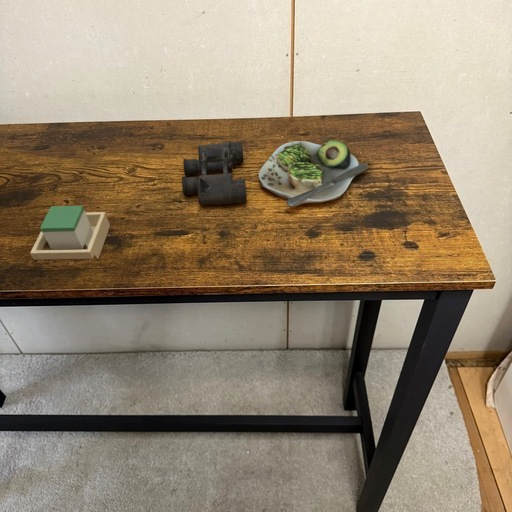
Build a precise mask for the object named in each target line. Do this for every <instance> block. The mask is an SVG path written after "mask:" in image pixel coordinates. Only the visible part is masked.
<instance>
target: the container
mask: <svg viewBox="0 0 512 512" xmlns="http://www.w3.org/2000/svg"><path fill="white" fill-rule="evenodd" d="M85 212H86V211H85V207H84V205H51V206H50V208H49V210H48V212H47V213H46V215H45V217H44V219H43V221H42V223H41V225H40V227H39V230H40V232H41V231H42V232H43V234H44V236H45V238H46V240H47V241H46V243H47V244H48V247H49V248H50V250H82V249H84V247H85V246H86V247H87V248H88V244H89V242H90V239H91V236H92V234H93V230H92V228H91V225H90V223H89V220H88V218H87V216H86V213H85Z"/></svg>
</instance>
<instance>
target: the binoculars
mask: <svg viewBox="0 0 512 512" xmlns="http://www.w3.org/2000/svg"><path fill="white" fill-rule="evenodd" d="M197 155H198V158H185V157H184V158H183V160H182V162H183V173H184V176H183V175H182V177H181V188H182V193H183V196H186V195H193V194H197V199H198V204H199V206H203V205H204V206H205V205H232V204H237V203H238V204H239V203H247V202H248V198H247V185H246V178H235V179H234V175H233V172H234V170H233V169H234V166H233V165H237V164H242V163H244V162H245V161H244V148H243V141H224V142H220V143H214V144H201V145H197ZM229 172H230V173H229ZM216 173H217V174H216ZM199 174H201V175H199Z"/></svg>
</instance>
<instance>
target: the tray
mask: <svg viewBox="0 0 512 512" xmlns="http://www.w3.org/2000/svg"><path fill="white" fill-rule="evenodd" d="M85 213H86V216H87V218H88V220H89V223H90V225H91V228H92V230H93V234H92V236H91V239H90V242H89V244H88V247H87V248H86V249H84V248H83V249H44V248H45V246H46V243H47V240H46V238H45V236H44V234H43V232H42V231H41V230H40V233H39V235H38V236H37V239H36V241H35V242H34V245H33V246H32V249H31V251H30V252H29V254H30V256H31V258H32V259H33V261H35V260H85V259H86V260H92V259H94V256H95V257H96V258H97V260H99V258H100V256H101V253H102V250H103V247H104V244H105V242H106V239H107V236H108V234H109V230H110V228H111V224H110V222H109V219H108V216H107V214H106V211H91V212H88V211H87V212H86V211H85Z"/></svg>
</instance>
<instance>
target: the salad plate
mask: <svg viewBox="0 0 512 512" xmlns="http://www.w3.org/2000/svg"><path fill="white" fill-rule="evenodd" d="M368 168H369V163H367V162H363V163H361V162H359V160H358V159H357V158H356V156H355V155H353V154H352V153H351V151H350V149H349V146H347V144H346V143H344V142H343V141H340V140H336V139H330V140H328V141H325V142H324V143H323V144H322V145H321V144H318V143H314V142H310V141H305V140H295V141H289V142H286V143H283V144H282V145H280V146H278V148H276V150H275V151H274V152H272V154H271V156H270V157H269V158H268V159H267V161H265V163H263V166H262V167H261V168H260V169H259V171H258V180H259V183H260V184H261V185H262V187H263V188H264V189H266V190H268V191H269V192H271V193H272V194H273V195H275V196H277V197H279V198H283V199H286V202H285V203H286V206H288V207H291V208H294V207H297V206H300V205H302V204H308V203H310V204H311V203H324V202H329V201H334V200H337V199H339V198H341V196H342V195H343V194H344V193H345V192H346V191H347V190H348V188H349V187H350V185H351V182H352V180H354V178H355V177H357V176H358V175H360V174H362V173H363V172H364V171H366V170H367V169H368Z"/></svg>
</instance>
